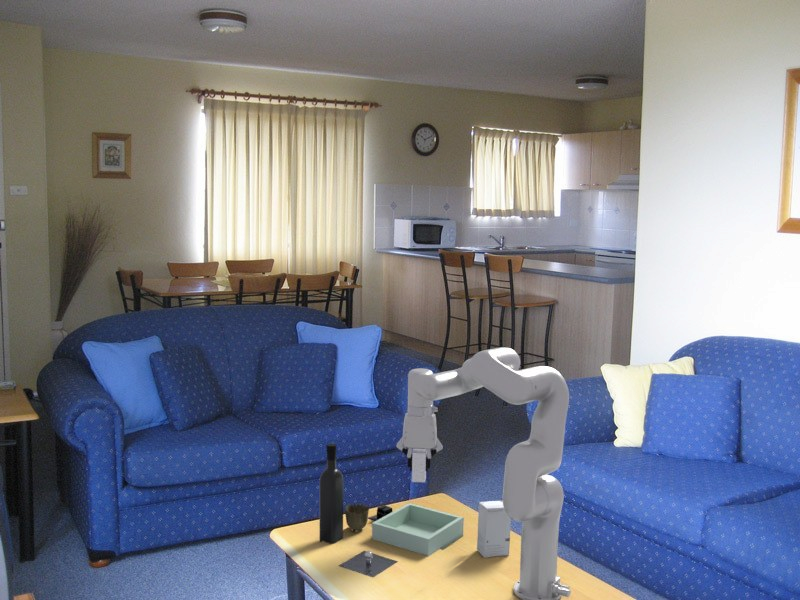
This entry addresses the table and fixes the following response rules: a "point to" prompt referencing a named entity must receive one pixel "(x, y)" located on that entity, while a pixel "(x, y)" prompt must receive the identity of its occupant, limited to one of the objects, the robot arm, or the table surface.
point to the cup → (356, 516)
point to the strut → (419, 465)
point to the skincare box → (493, 529)
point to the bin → (418, 529)
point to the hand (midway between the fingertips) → (419, 469)
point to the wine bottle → (331, 500)
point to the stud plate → (368, 563)
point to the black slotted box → (381, 512)
